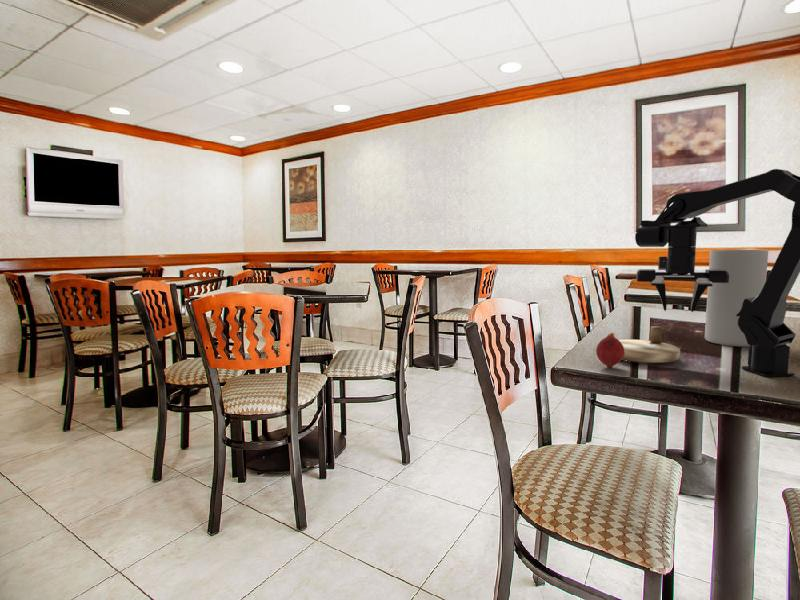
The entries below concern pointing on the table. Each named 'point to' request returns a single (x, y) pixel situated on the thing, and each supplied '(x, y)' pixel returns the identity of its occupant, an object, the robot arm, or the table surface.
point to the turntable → (650, 349)
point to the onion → (610, 350)
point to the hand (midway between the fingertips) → (678, 310)
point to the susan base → (647, 362)
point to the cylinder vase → (733, 293)
